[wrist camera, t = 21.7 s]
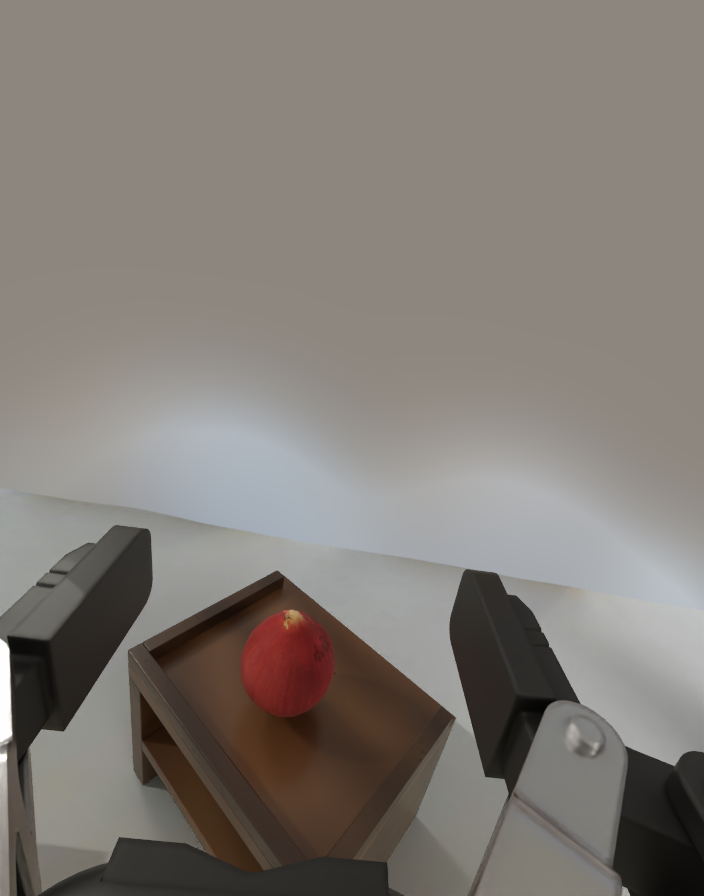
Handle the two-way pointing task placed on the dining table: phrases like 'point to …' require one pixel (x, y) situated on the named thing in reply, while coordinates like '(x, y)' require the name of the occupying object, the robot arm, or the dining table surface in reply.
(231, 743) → the shelf stand
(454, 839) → the dining table surface
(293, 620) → the onion
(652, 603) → the dining table surface
